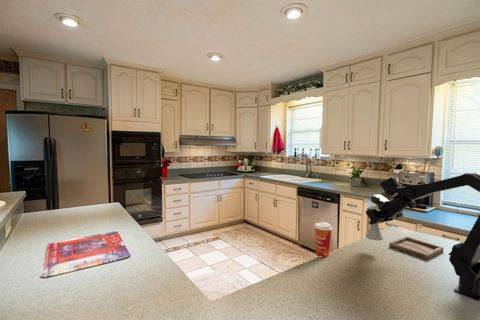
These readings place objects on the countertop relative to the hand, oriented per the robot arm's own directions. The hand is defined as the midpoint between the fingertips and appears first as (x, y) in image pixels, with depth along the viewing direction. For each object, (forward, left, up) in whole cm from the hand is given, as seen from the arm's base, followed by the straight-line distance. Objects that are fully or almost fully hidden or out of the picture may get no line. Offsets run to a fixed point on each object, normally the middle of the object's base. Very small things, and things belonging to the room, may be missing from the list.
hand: (371, 223), depth 115 cm
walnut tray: (+20, -10, -13) cm, 26 cm away
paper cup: (-23, +9, -13) cm, 28 cm away
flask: (0, -1, -7) cm, 7 cm away
